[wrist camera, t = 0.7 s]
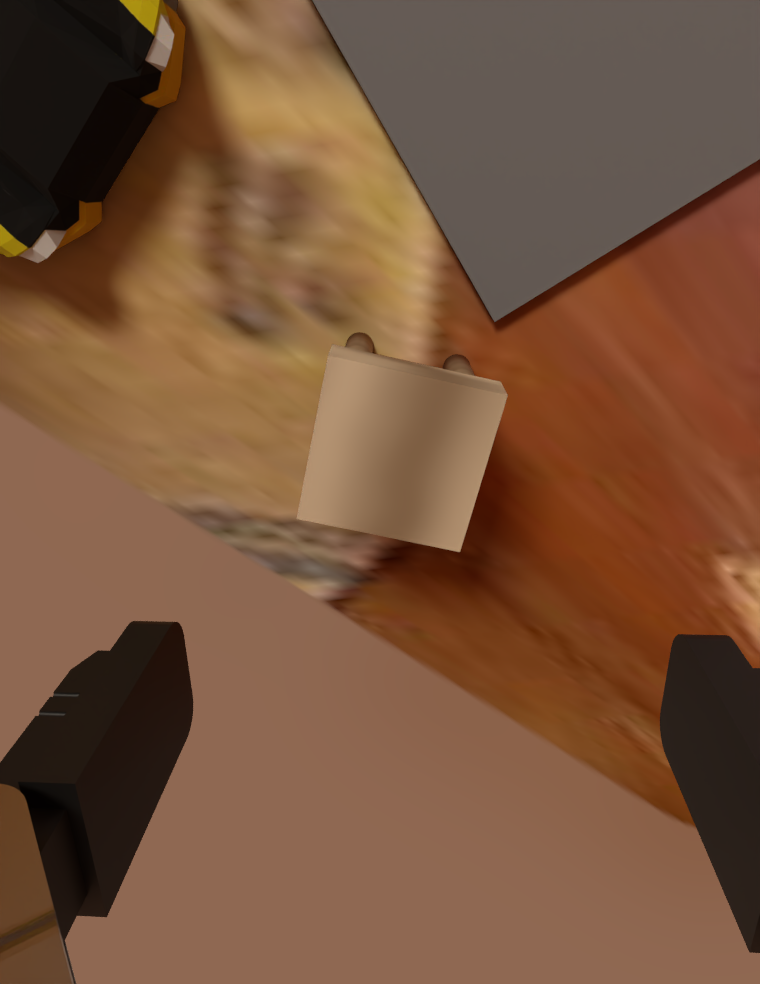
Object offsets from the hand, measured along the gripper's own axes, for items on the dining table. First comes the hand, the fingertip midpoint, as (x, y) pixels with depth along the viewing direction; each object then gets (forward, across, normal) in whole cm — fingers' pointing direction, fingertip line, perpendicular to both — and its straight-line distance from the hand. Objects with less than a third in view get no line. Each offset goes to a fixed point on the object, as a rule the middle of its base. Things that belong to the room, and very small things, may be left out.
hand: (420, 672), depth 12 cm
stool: (+22, +1, +1) cm, 22 cm away
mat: (+22, -5, -14) cm, 26 cm away
